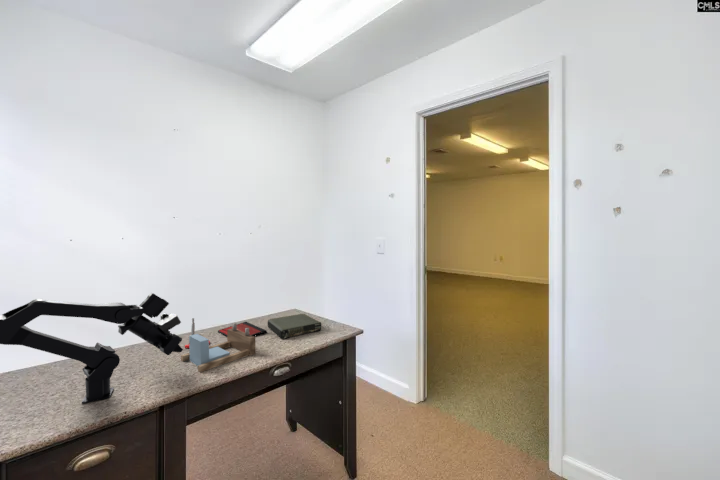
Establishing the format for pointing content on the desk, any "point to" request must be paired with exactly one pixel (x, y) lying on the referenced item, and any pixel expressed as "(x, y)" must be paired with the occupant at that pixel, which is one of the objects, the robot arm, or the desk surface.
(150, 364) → the desk surface
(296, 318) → the dark green electronics case
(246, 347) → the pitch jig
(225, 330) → the binder
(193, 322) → the tow hook
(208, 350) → the block
